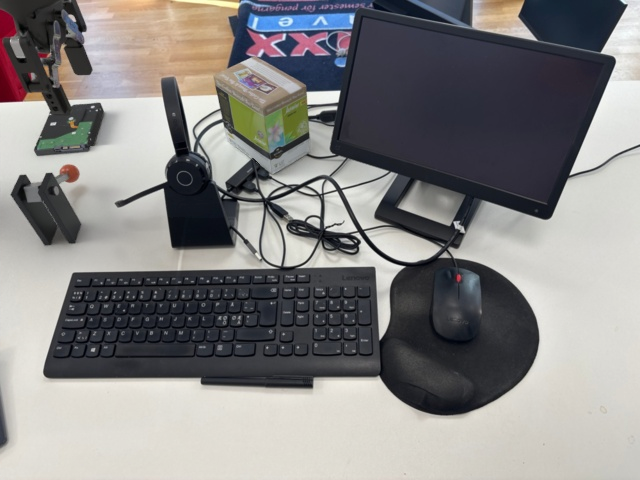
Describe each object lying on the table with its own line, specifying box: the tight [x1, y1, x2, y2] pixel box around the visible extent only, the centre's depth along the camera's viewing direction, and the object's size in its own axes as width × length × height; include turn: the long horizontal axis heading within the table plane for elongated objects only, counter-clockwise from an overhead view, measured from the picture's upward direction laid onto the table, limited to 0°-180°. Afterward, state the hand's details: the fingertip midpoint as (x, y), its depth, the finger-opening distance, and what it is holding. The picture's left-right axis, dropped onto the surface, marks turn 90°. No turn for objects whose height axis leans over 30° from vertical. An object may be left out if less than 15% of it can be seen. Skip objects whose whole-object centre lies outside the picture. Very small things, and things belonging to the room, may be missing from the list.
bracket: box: [10, 172, 82, 246], centre depth 82 cm, size 10×8×13 cm
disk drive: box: [33, 102, 105, 157], centre depth 105 cm, size 10×3×15 cm
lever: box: [24, 163, 81, 202], centre depth 85 cm, size 15×3×3 cm, turn 4°
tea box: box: [213, 55, 311, 175], centre depth 96 cm, size 15×10×15 cm
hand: (74, 93), depth 63 cm, fingers open, 8 cm apart
